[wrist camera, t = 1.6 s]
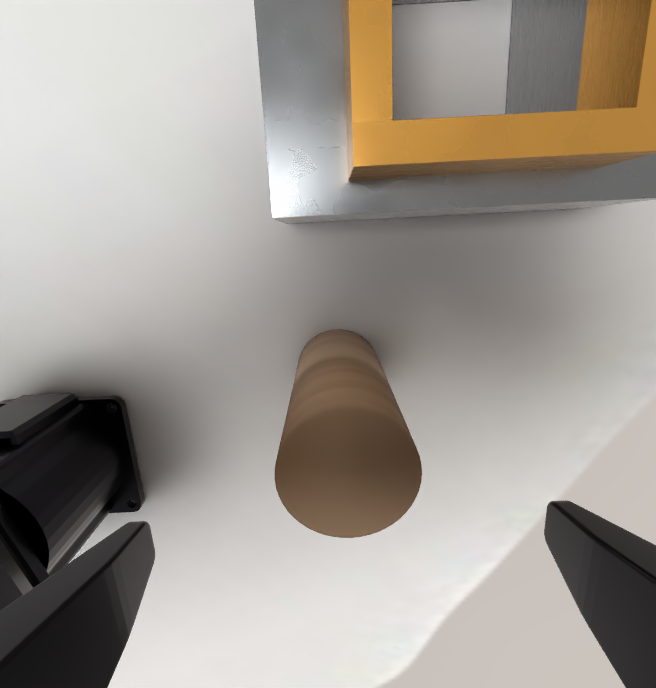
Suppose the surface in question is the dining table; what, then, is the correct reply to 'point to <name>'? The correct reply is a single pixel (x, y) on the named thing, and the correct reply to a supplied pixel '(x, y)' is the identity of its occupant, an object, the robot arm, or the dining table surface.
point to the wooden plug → (345, 442)
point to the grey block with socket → (457, 132)
